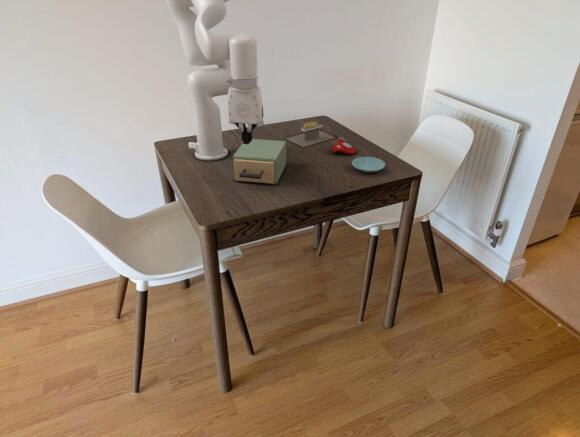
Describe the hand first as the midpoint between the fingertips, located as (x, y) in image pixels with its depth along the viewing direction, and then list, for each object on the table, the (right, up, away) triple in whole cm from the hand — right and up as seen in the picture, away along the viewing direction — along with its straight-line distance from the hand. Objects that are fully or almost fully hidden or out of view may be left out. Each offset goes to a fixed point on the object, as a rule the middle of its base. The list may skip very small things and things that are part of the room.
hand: (247, 142), depth 132 cm
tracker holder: (+35, +3, +37) cm, 50 cm away
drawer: (+2, -9, +15) cm, 18 cm away
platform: (+22, +10, +48) cm, 54 cm away
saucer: (+41, -6, +22) cm, 47 cm away
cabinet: (+3, -7, +19) cm, 21 cm away
